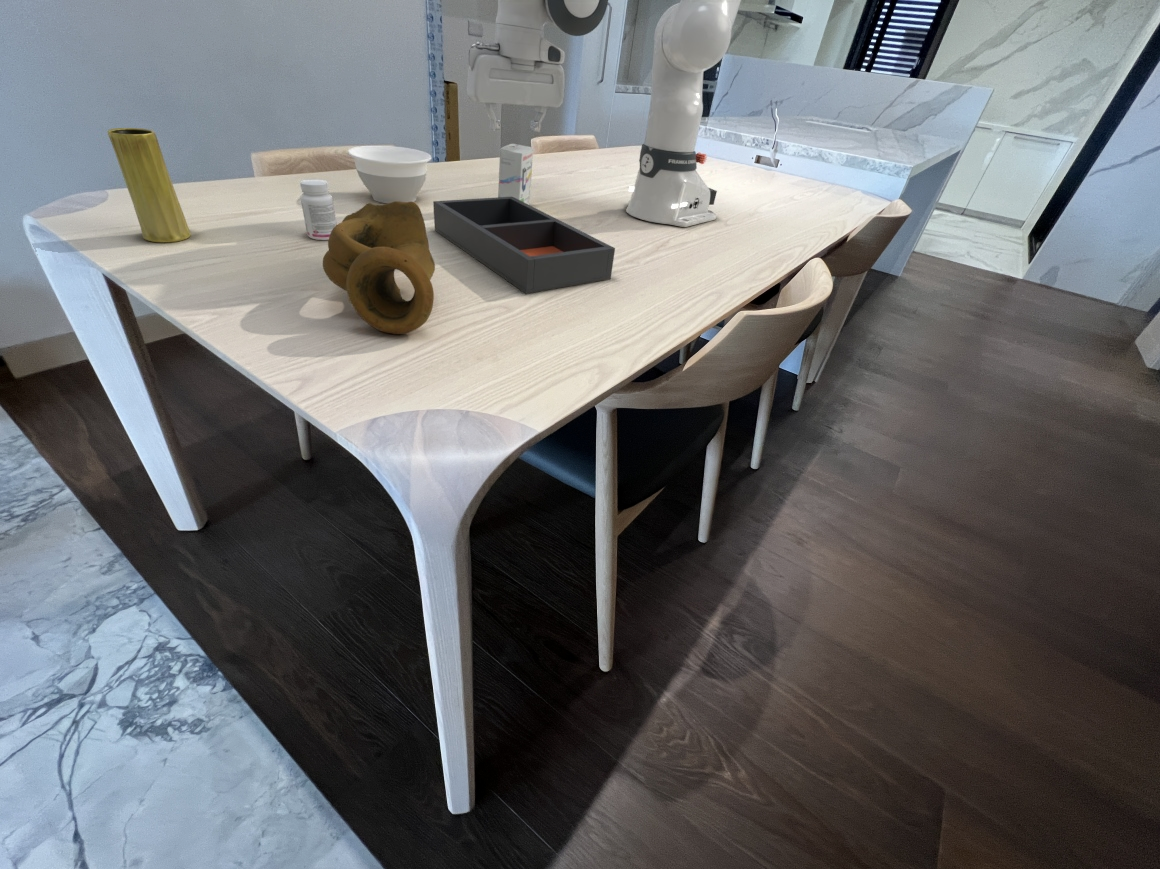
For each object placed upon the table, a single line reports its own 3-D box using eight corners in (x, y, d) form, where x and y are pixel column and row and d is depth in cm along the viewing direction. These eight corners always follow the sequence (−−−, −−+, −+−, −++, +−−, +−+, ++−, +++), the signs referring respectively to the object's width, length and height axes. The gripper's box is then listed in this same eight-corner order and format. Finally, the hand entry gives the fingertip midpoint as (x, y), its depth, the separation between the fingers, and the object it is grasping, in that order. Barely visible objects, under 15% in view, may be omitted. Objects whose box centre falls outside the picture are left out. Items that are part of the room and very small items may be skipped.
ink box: (508, 201, 120) (510, 142, 113) (531, 205, 119) (533, 146, 112) (496, 210, 113) (497, 148, 106) (520, 214, 112) (522, 152, 105)
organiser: (511, 223, 106) (512, 196, 103) (610, 279, 87) (615, 248, 84) (434, 230, 98) (432, 201, 95) (526, 294, 79) (527, 259, 75)
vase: (197, 239, 82) (164, 134, 73) (150, 245, 78) (109, 135, 69) (183, 228, 85) (150, 126, 76) (137, 233, 81) (97, 127, 73)
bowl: (423, 212, 106) (420, 165, 101) (342, 203, 105) (334, 155, 100) (441, 194, 118) (439, 151, 113) (368, 185, 118) (363, 142, 112)
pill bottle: (345, 236, 90) (336, 182, 85) (323, 242, 86) (313, 187, 81) (323, 229, 91) (314, 176, 86) (301, 236, 88) (290, 181, 83)
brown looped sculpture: (480, 225, 78) (449, 247, 59) (452, 306, 84) (416, 350, 64) (355, 168, 74) (278, 171, 55) (334, 256, 80) (258, 287, 60)
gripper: (476, 41, 91) (476, 132, 100) (572, 54, 103) (564, 134, 111) (460, 38, 95) (461, 126, 103) (553, 50, 106) (547, 129, 114)
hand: (515, 130), depth 107 cm, fingers open, 8 cm apart
